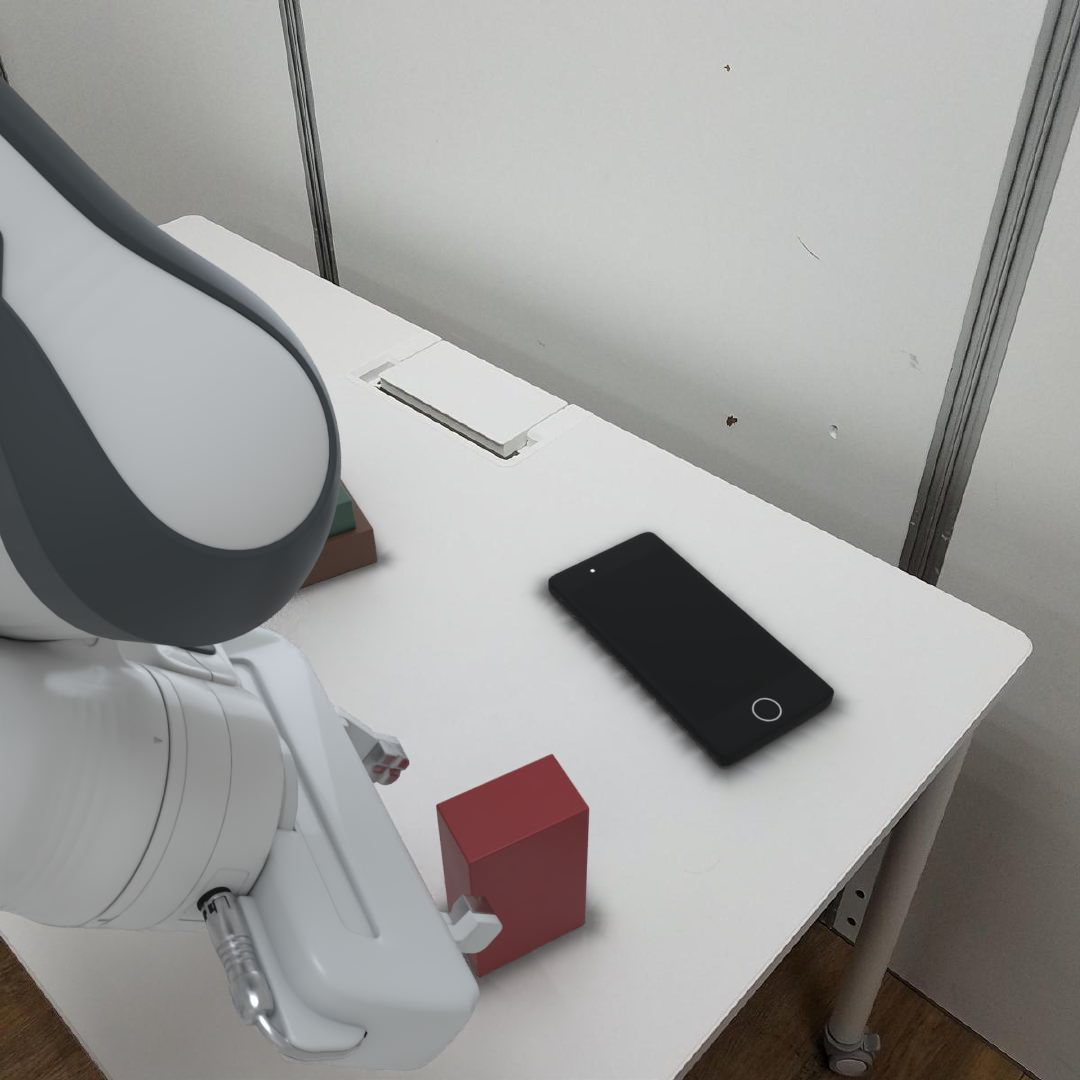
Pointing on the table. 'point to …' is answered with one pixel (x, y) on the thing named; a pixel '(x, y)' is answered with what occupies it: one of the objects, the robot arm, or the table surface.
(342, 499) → the book pile
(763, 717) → the cell phone
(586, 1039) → the table surface
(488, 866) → the upright red rectangular block
